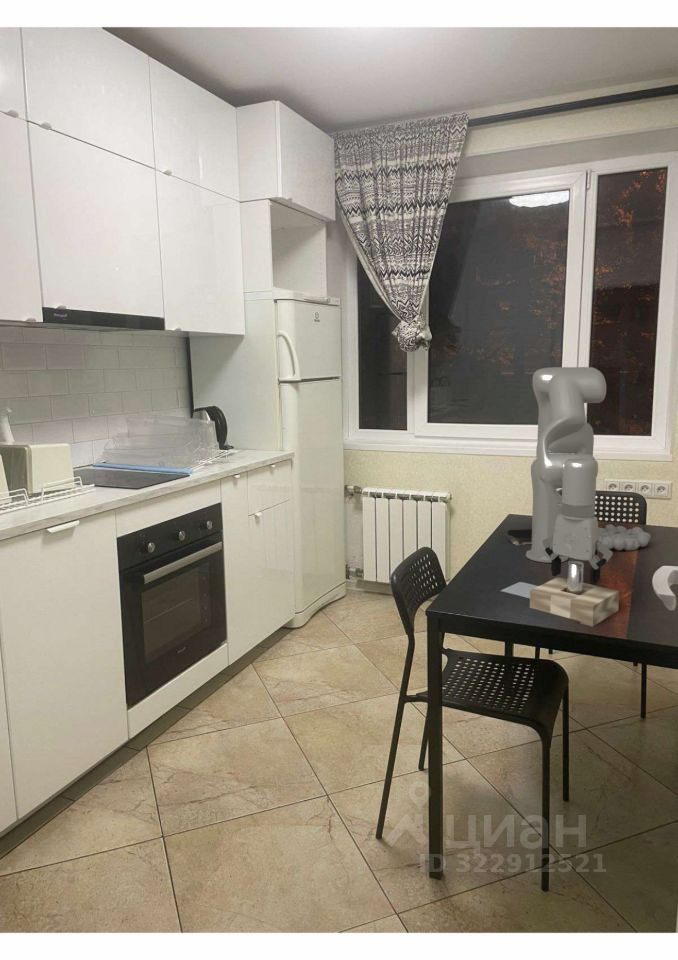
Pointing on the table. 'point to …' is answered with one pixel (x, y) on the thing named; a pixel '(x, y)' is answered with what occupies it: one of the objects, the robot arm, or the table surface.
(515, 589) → the mat
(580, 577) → the peg
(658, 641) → the table surface
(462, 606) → the table surface
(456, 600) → the table surface
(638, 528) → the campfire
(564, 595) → the hole block
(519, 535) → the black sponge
